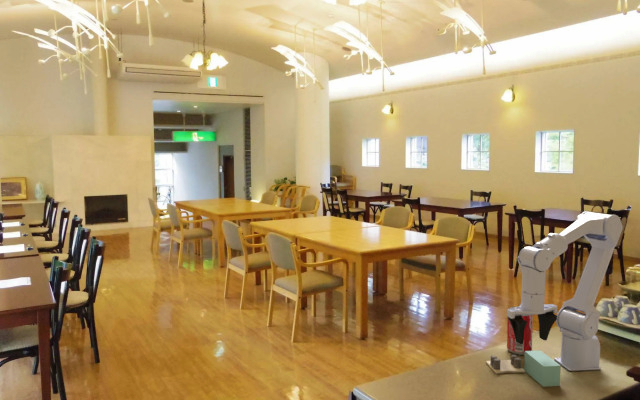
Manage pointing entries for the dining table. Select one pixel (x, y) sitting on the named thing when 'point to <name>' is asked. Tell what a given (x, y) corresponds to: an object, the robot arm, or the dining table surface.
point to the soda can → (527, 343)
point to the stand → (505, 365)
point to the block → (542, 368)
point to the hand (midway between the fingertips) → (531, 340)
